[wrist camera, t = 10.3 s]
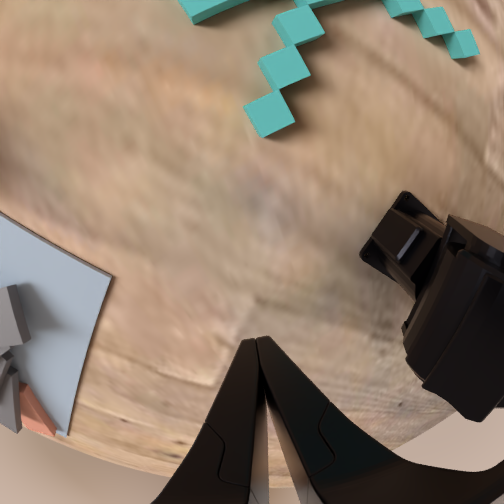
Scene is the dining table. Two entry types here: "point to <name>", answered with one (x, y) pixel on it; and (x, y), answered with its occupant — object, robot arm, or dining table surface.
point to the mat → (51, 315)
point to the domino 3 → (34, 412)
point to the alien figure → (308, 29)
